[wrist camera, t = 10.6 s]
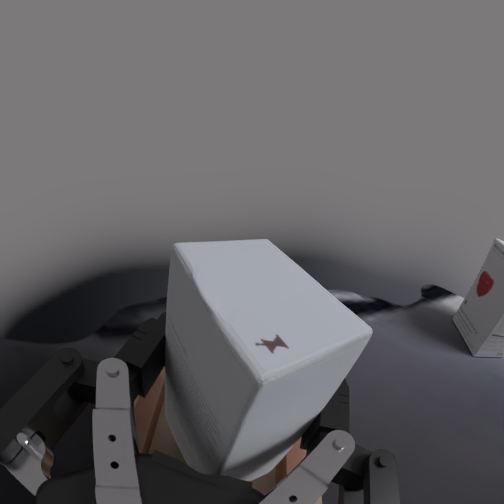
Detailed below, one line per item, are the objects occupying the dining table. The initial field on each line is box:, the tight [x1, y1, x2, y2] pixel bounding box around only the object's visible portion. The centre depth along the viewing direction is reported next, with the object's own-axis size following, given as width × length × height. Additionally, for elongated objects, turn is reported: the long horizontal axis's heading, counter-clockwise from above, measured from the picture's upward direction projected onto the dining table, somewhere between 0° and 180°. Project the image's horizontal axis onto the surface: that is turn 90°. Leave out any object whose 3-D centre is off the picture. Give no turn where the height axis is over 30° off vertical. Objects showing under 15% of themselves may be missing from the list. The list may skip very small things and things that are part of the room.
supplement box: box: [452, 238, 504, 358], centre depth 29 cm, size 9×9×15 cm
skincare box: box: [165, 239, 372, 481], centre depth 11 cm, size 6×4×12 cm
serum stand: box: [134, 366, 322, 504], centre depth 14 cm, size 14×14×3 cm
